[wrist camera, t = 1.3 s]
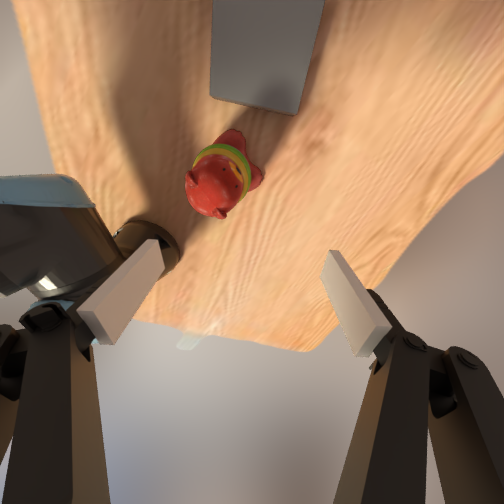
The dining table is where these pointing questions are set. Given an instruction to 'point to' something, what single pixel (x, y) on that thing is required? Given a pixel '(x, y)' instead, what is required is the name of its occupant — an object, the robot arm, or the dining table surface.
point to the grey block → (262, 51)
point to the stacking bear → (221, 176)
